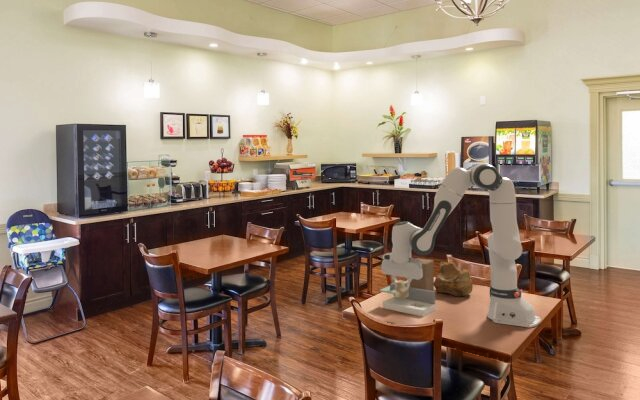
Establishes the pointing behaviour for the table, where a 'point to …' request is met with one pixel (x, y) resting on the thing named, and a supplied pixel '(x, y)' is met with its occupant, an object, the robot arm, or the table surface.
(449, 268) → the rough brown rock
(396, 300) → the puzzle board
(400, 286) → the birch block
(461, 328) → the table surface
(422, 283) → the wooden block
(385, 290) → the slide lid
